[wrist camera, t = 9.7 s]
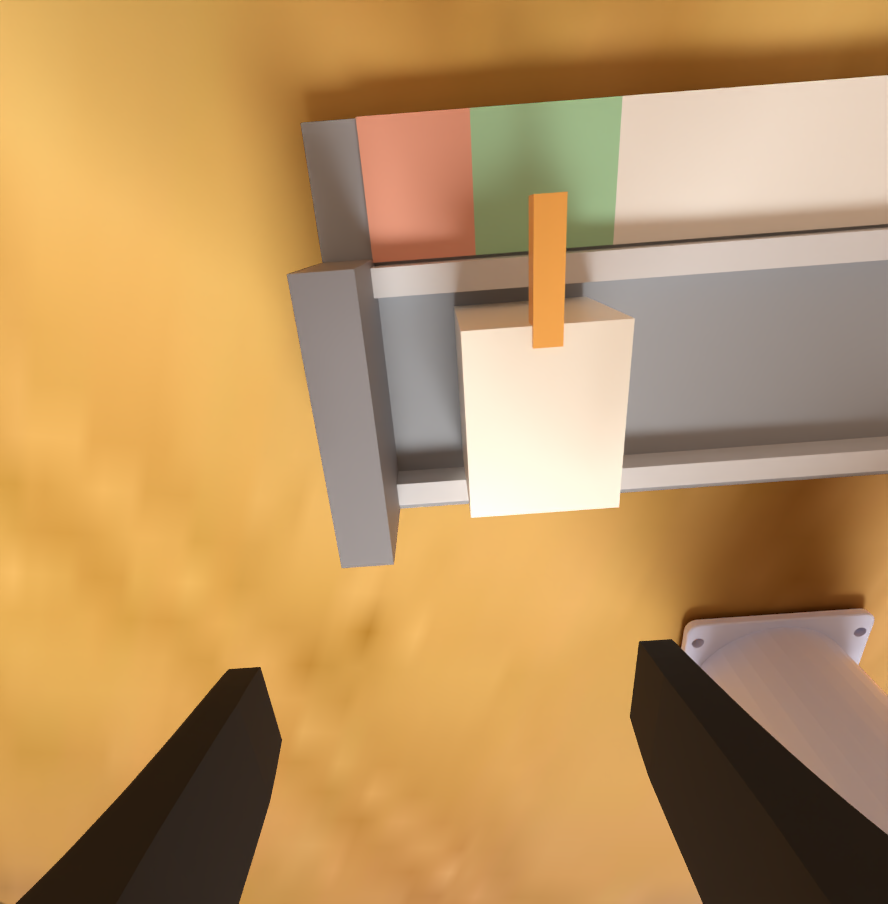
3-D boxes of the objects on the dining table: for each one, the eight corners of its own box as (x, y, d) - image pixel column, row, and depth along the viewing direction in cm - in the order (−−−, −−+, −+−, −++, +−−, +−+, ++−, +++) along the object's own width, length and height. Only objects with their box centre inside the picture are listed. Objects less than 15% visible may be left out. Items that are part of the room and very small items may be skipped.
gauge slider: (579, 447, 17) (620, 509, 13) (462, 456, 17) (471, 519, 14) (590, 196, 14) (648, 185, 10) (447, 207, 14) (453, 200, 10)
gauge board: (997, 452, 19) (1176, 523, 14) (365, 497, 19) (344, 582, 15) (1161, 62, 14) (1511, -16, 10) (308, 129, 14) (251, 83, 10)
